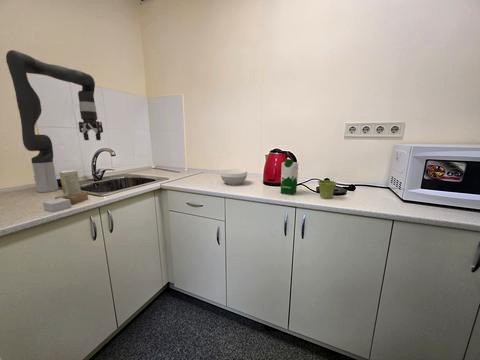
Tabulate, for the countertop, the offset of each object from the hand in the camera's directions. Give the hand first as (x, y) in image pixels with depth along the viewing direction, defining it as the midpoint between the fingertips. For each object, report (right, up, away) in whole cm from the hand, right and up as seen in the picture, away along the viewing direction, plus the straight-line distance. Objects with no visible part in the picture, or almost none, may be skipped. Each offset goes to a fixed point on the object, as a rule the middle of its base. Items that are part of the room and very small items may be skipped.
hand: (92, 140), depth 120 cm
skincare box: (+1, -31, -16) cm, 34 cm away
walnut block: (+1, -35, -15) cm, 38 cm away
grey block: (+2, -36, -25) cm, 44 cm away
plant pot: (+133, -33, -7) cm, 137 cm away
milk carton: (+114, -31, +2) cm, 118 cm away
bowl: (+81, -26, +26) cm, 89 cm away
